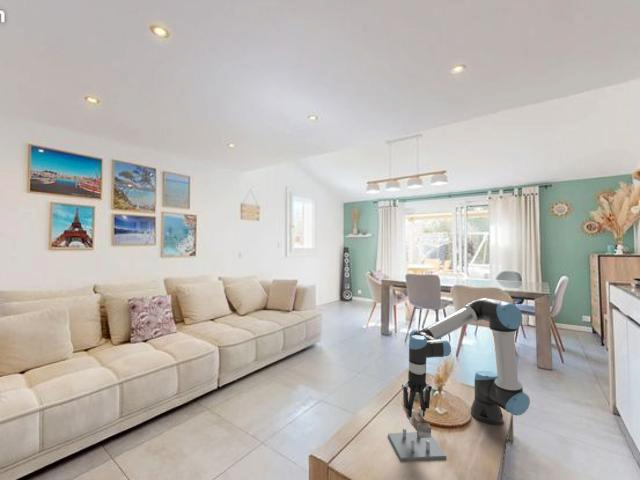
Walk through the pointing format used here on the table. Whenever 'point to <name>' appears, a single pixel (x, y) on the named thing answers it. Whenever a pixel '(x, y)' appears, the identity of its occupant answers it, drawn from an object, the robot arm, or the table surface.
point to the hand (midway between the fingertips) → (415, 423)
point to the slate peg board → (415, 446)
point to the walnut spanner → (420, 425)
